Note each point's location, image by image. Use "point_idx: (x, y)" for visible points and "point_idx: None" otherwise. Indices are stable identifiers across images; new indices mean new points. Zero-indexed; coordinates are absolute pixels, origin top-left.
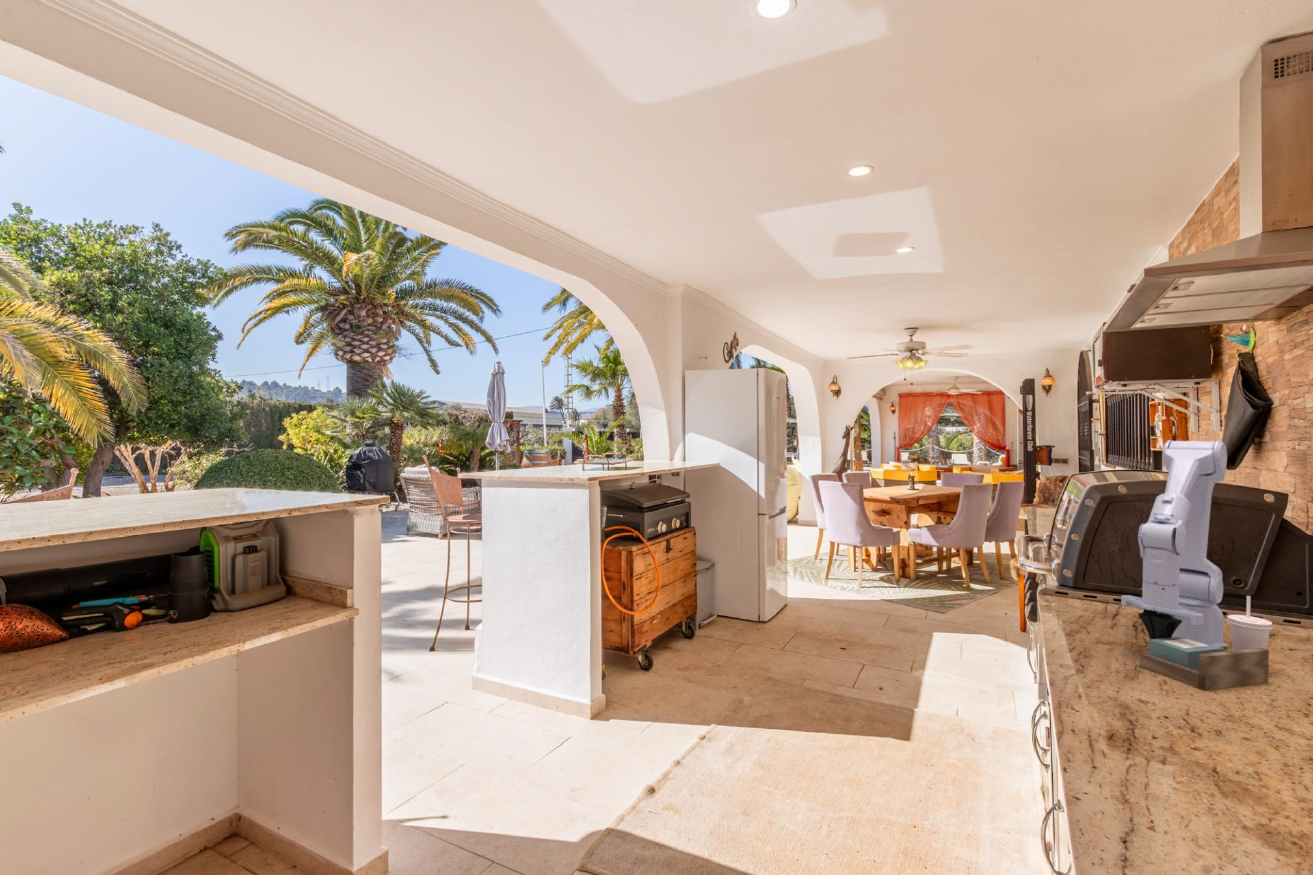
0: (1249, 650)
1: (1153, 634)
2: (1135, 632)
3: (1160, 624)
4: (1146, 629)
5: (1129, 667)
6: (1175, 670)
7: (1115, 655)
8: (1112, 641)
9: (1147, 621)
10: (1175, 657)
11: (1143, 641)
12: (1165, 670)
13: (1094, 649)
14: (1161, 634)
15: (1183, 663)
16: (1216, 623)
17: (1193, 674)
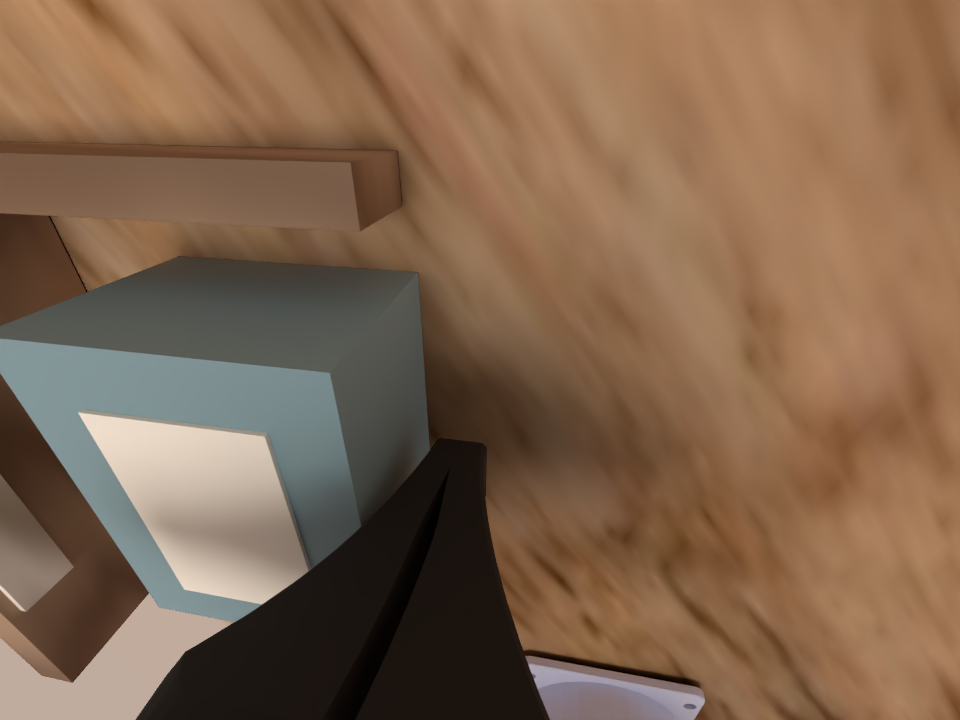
0: None
1: (437, 535)
2: (817, 700)
3: (239, 638)
4: (490, 566)
5: (388, 19)
6: (74, 150)
7: (650, 224)
8: (838, 504)
9: (427, 662)
10: (155, 307)
11: (717, 620)
12: (170, 150)
13: (856, 186)
14: (345, 542)
15: (121, 290)
16: None
17: None
